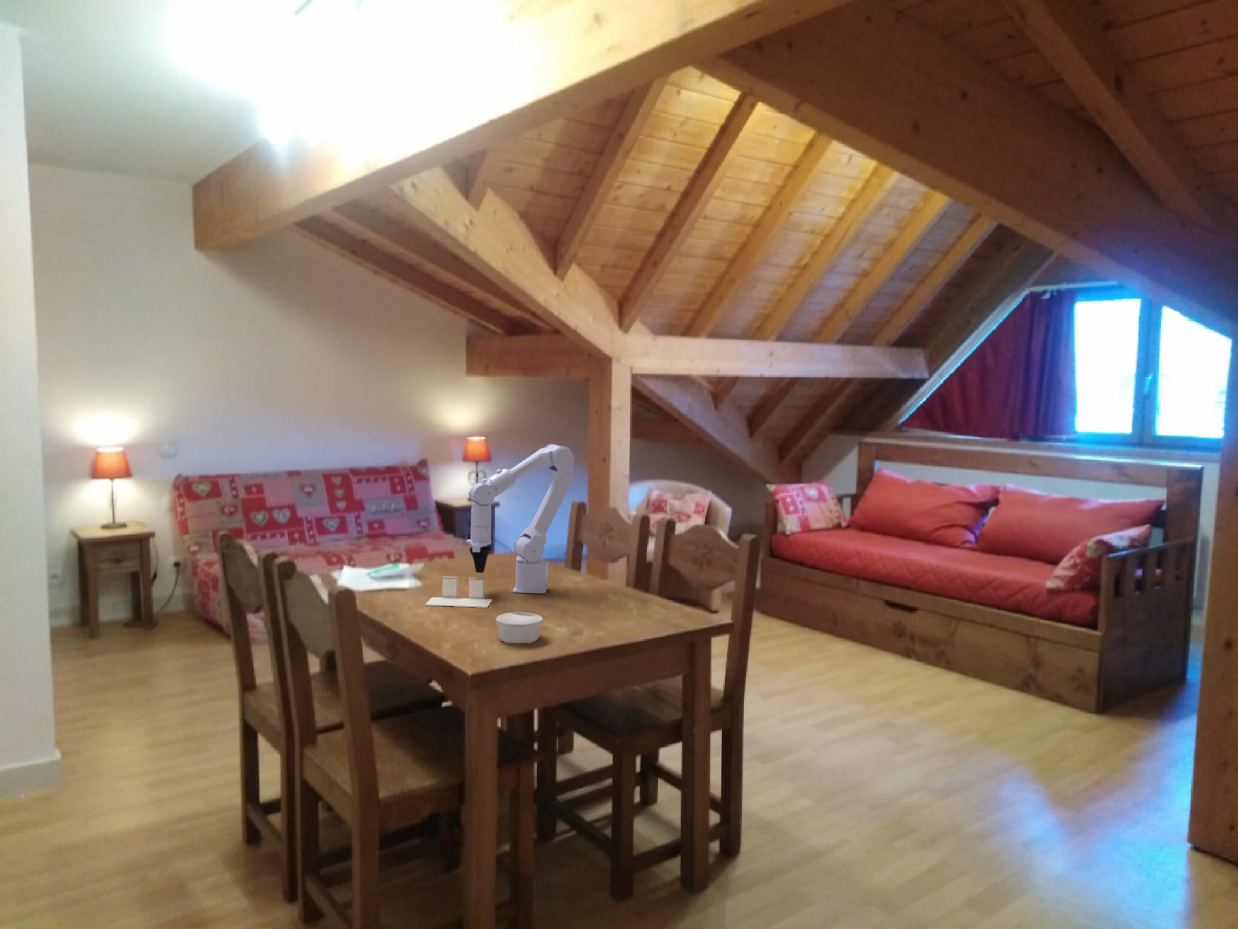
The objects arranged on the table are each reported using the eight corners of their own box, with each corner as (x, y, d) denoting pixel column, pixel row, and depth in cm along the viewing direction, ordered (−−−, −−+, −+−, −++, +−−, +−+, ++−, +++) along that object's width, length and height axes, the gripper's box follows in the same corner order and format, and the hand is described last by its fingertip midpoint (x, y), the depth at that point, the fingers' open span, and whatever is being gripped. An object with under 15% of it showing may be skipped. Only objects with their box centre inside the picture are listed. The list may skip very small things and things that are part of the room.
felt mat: (492, 600, 249) (492, 599, 249) (487, 608, 241) (487, 606, 241) (431, 598, 249) (431, 597, 249) (425, 605, 241) (425, 604, 241)
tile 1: (458, 597, 251) (458, 576, 251) (457, 599, 250) (457, 578, 249) (442, 597, 251) (442, 576, 251) (441, 598, 250) (441, 577, 249)
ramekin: (545, 633, 220) (545, 612, 219) (539, 647, 209) (539, 625, 208) (500, 631, 220) (500, 610, 219) (491, 645, 209) (492, 623, 208)
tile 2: (484, 598, 251) (485, 577, 251) (483, 600, 249) (484, 579, 249) (469, 598, 251) (469, 577, 251) (467, 599, 250) (468, 578, 249)
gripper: (471, 520, 261) (470, 566, 263) (462, 529, 247) (461, 577, 248) (495, 521, 261) (494, 567, 262) (487, 530, 247) (486, 578, 248)
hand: (480, 572), depth 255 cm, fingers closed
